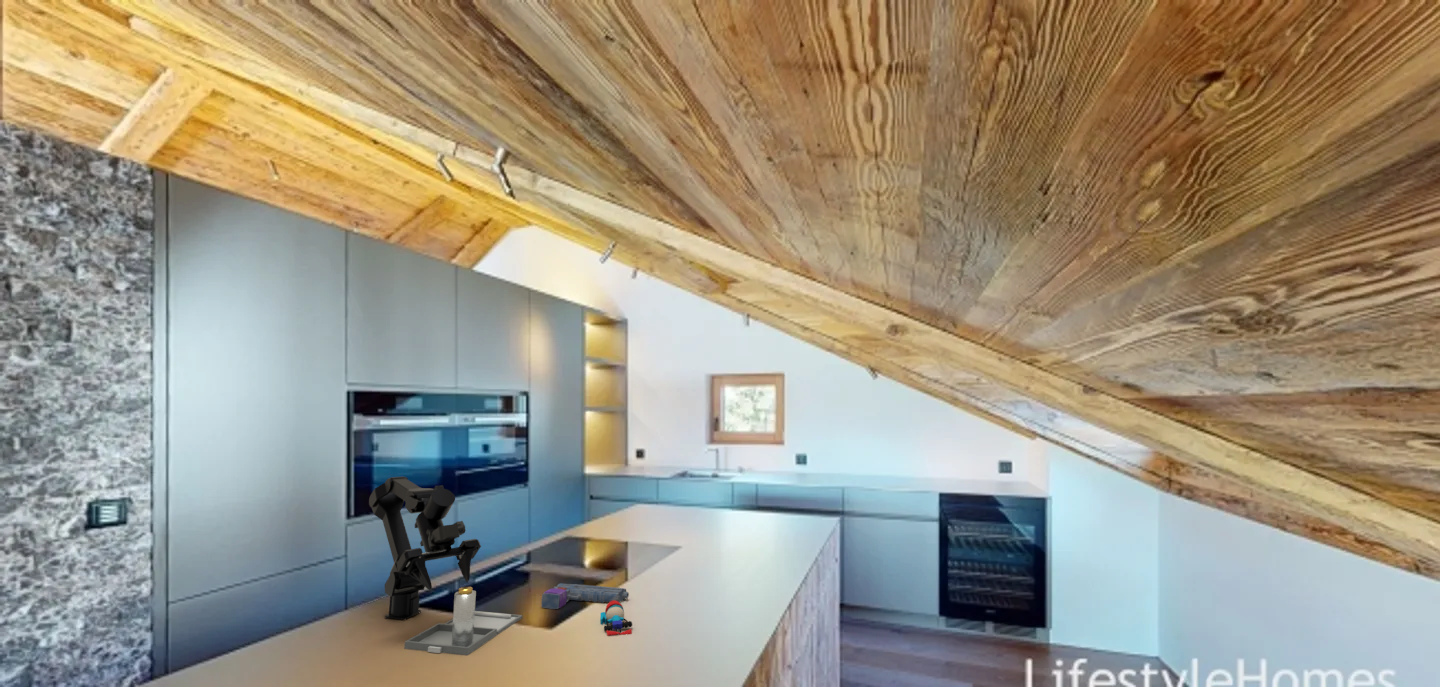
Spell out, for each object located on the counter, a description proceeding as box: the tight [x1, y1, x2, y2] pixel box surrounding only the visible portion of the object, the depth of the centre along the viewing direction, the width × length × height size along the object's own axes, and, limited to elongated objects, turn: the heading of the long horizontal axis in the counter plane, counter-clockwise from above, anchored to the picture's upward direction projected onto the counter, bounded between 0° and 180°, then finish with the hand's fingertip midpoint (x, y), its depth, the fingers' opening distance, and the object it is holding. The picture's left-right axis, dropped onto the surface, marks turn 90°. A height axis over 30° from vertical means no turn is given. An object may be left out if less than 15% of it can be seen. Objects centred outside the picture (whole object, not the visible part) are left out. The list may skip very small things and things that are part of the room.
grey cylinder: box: [451, 586, 477, 647], centre depth 139 cm, size 5×5×13 cm
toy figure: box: [599, 600, 633, 637], centre depth 157 cm, size 8×5×15 cm
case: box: [403, 622, 498, 656], centre depth 141 cm, size 16×13×2 cm
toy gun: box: [541, 582, 630, 610], centre depth 174 cm, size 4×23×15 cm
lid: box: [443, 610, 523, 636], centre depth 153 cm, size 16×13×2 cm
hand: (449, 584), depth 145 cm, fingers open, 9 cm apart
